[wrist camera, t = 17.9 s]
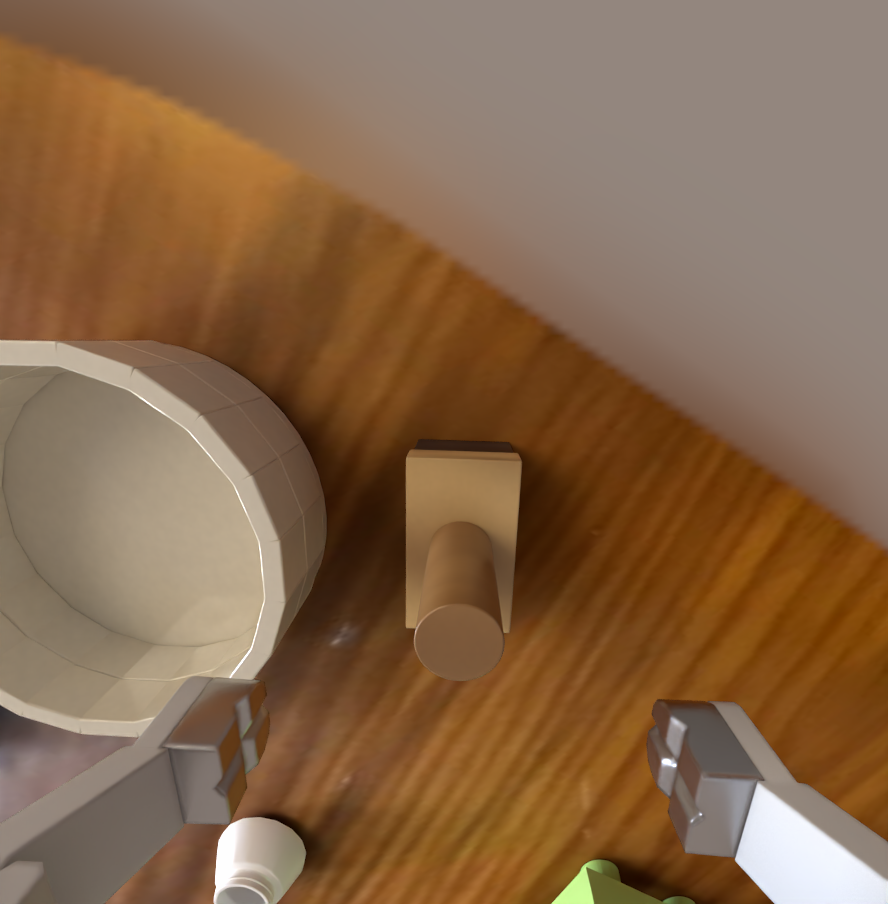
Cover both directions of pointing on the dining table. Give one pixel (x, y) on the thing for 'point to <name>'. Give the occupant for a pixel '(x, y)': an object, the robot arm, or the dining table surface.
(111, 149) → the dining table surface
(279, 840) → the lidless jar
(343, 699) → the dining table surface
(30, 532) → the bowl
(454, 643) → the brush
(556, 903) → the kettle
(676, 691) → the dining table surface
